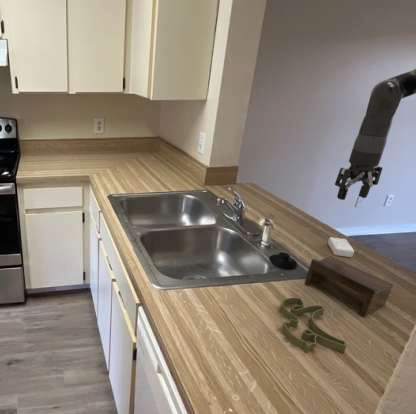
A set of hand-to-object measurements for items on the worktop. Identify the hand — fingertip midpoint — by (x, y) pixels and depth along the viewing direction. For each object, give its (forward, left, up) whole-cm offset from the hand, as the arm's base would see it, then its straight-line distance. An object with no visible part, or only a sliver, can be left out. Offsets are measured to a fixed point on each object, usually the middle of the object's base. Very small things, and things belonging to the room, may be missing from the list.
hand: (351, 198), depth 108 cm
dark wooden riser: (+10, +25, -20) cm, 34 cm away
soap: (-2, -1, -20) cm, 21 cm away
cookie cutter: (+26, +40, -20) cm, 52 cm away
